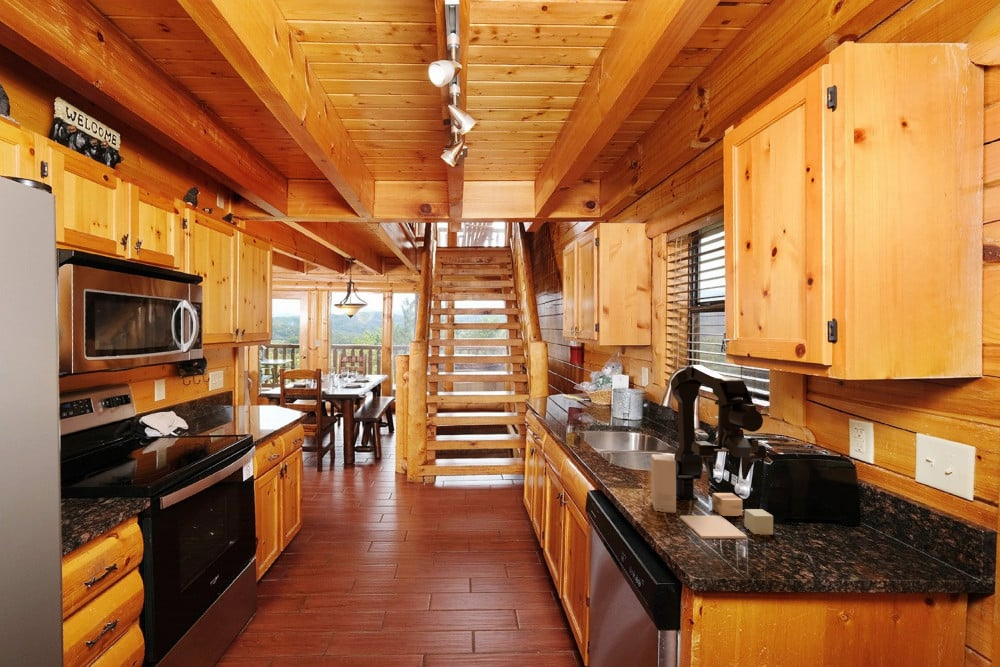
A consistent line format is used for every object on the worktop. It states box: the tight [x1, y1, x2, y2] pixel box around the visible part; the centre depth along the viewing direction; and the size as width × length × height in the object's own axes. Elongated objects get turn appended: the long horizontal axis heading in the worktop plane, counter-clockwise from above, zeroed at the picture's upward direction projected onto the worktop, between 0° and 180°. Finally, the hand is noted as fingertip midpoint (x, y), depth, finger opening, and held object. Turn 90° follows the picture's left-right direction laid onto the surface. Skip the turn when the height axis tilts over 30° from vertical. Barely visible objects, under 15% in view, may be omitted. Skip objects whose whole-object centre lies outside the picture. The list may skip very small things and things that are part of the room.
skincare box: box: [650, 454, 677, 514], centre depth 147 cm, size 8×7×16 cm
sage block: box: [743, 508, 774, 535], centre depth 131 cm, size 5×5×5 cm
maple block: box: [712, 492, 743, 516], centre depth 144 cm, size 6×6×5 cm
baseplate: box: [679, 515, 748, 539], centre depth 132 cm, size 14×12×1 cm
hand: (727, 479), depth 134 cm, fingers open, 9 cm apart
